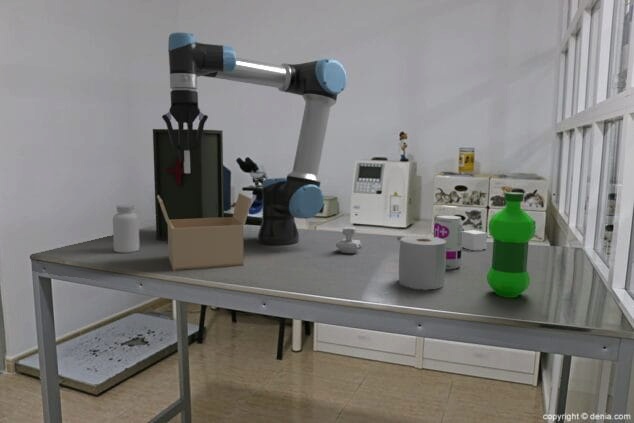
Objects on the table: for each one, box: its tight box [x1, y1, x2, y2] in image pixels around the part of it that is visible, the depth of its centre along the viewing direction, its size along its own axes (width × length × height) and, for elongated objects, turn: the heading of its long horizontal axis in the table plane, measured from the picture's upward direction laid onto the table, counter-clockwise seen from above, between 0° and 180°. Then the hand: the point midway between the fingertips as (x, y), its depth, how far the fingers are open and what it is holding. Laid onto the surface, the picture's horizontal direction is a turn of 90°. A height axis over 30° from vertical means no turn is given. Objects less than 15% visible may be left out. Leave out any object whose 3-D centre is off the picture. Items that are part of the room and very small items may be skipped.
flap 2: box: [232, 192, 252, 226], centre depth 154 cm, size 8×15×1 cm
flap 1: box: [157, 195, 172, 229], centre depth 146 cm, size 8×15×1 cm
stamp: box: [335, 226, 364, 255], centre depth 166 cm, size 9×7×8 cm
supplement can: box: [433, 214, 464, 270], centre depth 149 cm, size 8×8×15 cm
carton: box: [167, 216, 245, 272], centre depth 151 cm, size 20×16×12 cm
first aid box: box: [152, 128, 225, 241], centre depth 187 cm, size 18×18×40 cm
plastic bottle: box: [486, 191, 537, 298], centre depth 122 cm, size 10×10×25 cm
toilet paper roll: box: [398, 235, 446, 291], centre depth 131 cm, size 12×12×12 cm
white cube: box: [462, 229, 488, 251], centre depth 175 cm, size 6×6×6 cm
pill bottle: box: [112, 204, 140, 254], centre depth 164 cm, size 8×8×15 cm
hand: (187, 172), depth 147 cm, fingers closed
